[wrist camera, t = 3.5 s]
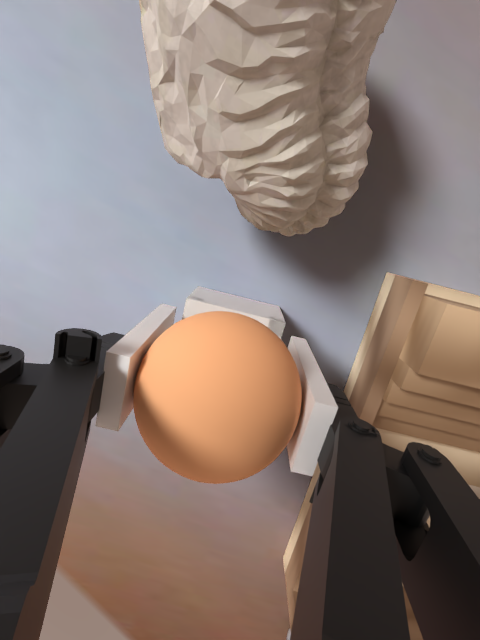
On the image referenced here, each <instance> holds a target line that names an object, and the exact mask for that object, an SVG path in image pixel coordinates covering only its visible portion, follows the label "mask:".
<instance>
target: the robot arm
mask: <svg viewBox="0 0 480 640" xmlns="http://www.w3.org/2000/svg"><path fill="white" fill-rule="evenodd" d="M175 312H176V307H174V306H170V305H166V304H161V305H159V306H158V307H157V308H156V309H155V310H154V311H152V312H151V313H150V314H149V315H148V316H147V317H146V318H144V319H143V320H142V321H141V322H140V323H139V324H137V325H136V326H135V327H134V328H133V329H132V330H131V331H129V332H128V333H127V334H126V335H122V334H118V333H110V334H106V335H103V336H101V335H100V334H98V333H96V332H94V331H91V330H86V329H77V328H72V329H64V330H61V331H58V332H57V333H56V334H55V345H54V355H53V359H52V361H51V363H50V364H33V363H24V352H23V351H22V350H20V349H18V348H15V347H12V346H6V345H0V640H39V637H40V632H41V629H42V625H43V620H44V616H45V612H46V608H47V604H48V600H49V595H50V592H51V588H52V583H53V579H54V575H55V571H56V567H57V563H58V559H59V555H60V551H61V546H62V542H63V538H64V534H65V530H66V526H67V522H68V518H69V514H70V509H71V505H72V501H73V497H74V493H75V489H76V485H77V481H78V477H79V473H80V468H81V464H82V460H83V456H84V452H85V448H86V444H87V440H88V436H89V431H90V424H91V419H92V418H93V417H94V416H95V414H96V413H97V412H98V413H97V420H96V426H97V427H102V428H106V429H110V430H115V431H119V429H120V428H121V426H122V424H123V423H124V421H125V420H126V418H127V417H128V415H129V414H130V412H131V411H132V409H133V407H134V403H133V393H134V384H135V380H136V376H137V372H138V369H139V366H140V364H141V361H142V359H143V357H144V356H145V354H146V353H147V351H148V349H149V348H150V346H151V345H152V344H153V342H154V341H155V340H156V339H157V338H158V337H159V336H160V335H161V334H162V333H163V332H164V331H165V330H167V329H168V328H169V327H171V326H172V325H173V322H174V317H175ZM288 350H289V351H290V353H291V355H292V357H293V359H294V361H295V363H296V366H297V369H298V372H299V377H300V382H301V388H302V402H301V411H300V416H299V420H298V424H297V426H296V429H295V431H294V433H293V436H292V438H291V439H290V441H289V443H288V444H287V451H288V457H289V463H290V469H291V472H295V473H299V474H304V475H308V476H313V474H314V471H315V468H316V466H317V463H318V465H319V468H320V474H319V477H318V480H317V482H316V485H315V487H314V490H313V493H312V495H311V498H310V501H309V502H310V503H313V504H312V510H311V516H310V522H309V528H308V534H307V540H306V546H305V552H304V558H303V564H302V570H301V576H300V582H299V588H298V594H297V600H296V606H295V612H294V618H293V624H292V630H291V636H290V640H410V633H409V627H408V620H407V613H406V606H405V599H404V592H403V586H404V588H405V591H406V594H407V597H408V599H409V602H410V605H411V607H412V610H413V613H414V616H415V618H416V621H417V624H418V626H419V629H420V632H421V635H422V637H423V640H480V499H479V498H478V497H477V495H476V494H475V493H474V491H473V490H472V489H471V488H470V486H469V485H468V484H467V482H466V481H465V480H464V478H463V477H462V476H461V475H460V473H459V472H458V471H457V469H456V468H455V467H454V466H453V464H452V463H451V462H450V461H449V460H448V459H447V458H446V457H445V456H444V455H443V454H441V453H440V452H439V451H438V450H437V449H435V448H432V447H431V446H429V445H425V444H422V443H418V442H410V443H408V445H407V447H406V449H405V451H404V452H402V451H400V450H398V449H395V448H393V447H390V446H388V445H386V444H384V443H382V439H381V435H380V433H379V431H378V430H377V429H376V428H375V427H374V426H372V425H371V424H369V423H368V422H366V421H364V420H362V419H360V418H358V416H357V415H356V413H355V411H354V409H353V407H351V404H350V402H349V401H348V398H347V396H346V395H345V393H344V392H343V391H342V390H341V389H340V388H338V387H337V386H335V385H331V384H327V383H326V381H325V379H324V376H323V374H322V372H321V370H320V368H319V366H318V364H317V362H316V360H315V357H314V355H313V353H312V351H311V349H310V347H309V345H308V343H307V341H306V339H303V338H299V337H295V336H291V338H290V342H289V345H288ZM429 516H430V527H429V526H428V524H427V520H428V518H429ZM402 583H403V585H402Z"/></svg>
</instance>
